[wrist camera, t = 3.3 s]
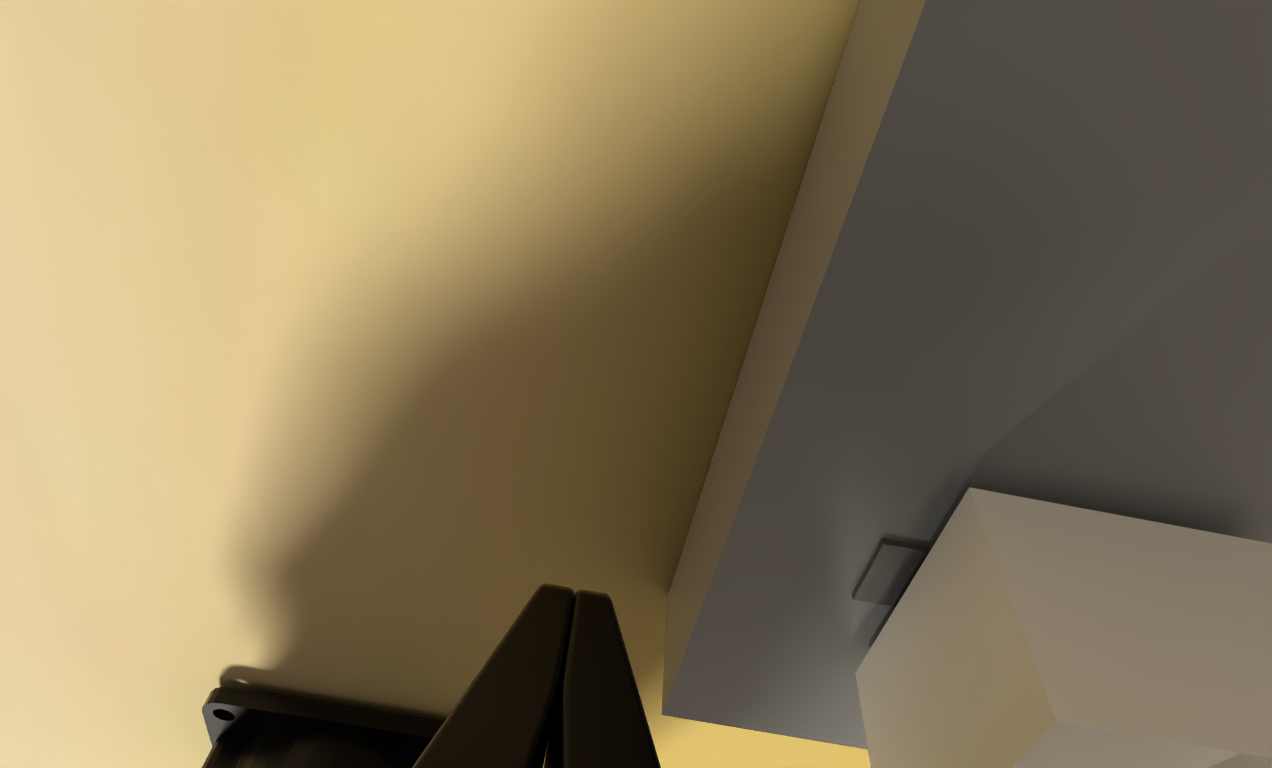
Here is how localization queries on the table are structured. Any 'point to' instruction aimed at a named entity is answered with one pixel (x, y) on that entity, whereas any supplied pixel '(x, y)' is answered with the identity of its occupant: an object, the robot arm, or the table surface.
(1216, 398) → the switch panel
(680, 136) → the table surface
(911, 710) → the tab
